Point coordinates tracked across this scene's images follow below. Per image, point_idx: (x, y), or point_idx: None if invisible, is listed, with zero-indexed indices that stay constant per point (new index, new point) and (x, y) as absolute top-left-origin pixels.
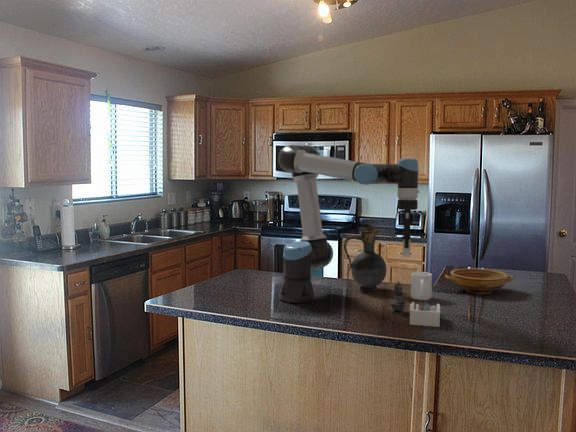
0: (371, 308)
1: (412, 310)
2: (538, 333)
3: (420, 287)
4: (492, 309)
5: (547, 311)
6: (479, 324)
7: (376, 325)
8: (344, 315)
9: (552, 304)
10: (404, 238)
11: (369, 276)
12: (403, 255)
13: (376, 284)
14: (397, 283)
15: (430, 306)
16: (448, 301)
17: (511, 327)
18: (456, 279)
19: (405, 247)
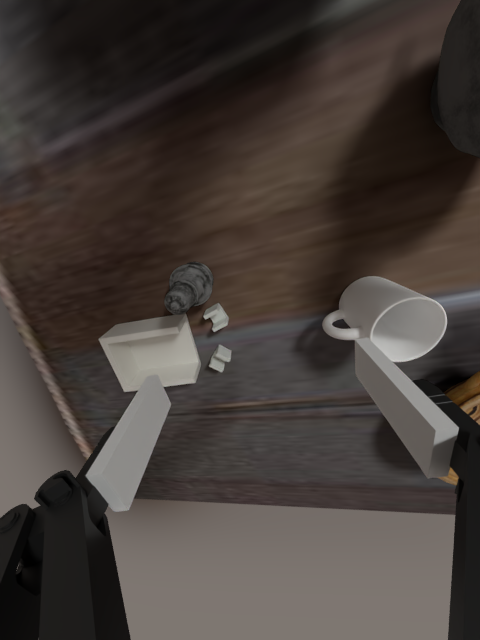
0: (197, 199)
1: (103, 343)
2: (189, 478)
3: (352, 318)
4: (302, 431)
5: (318, 488)
6: (192, 421)
7: (62, 261)
8: (80, 142)
9: (367, 494)
10: (59, 499)
11: (467, 77)
12: (145, 383)
13: (445, 131)
14: (170, 303)
15: (218, 354)
16: (343, 362)
17: (200, 455)
18: (467, 391)
19: (110, 434)
